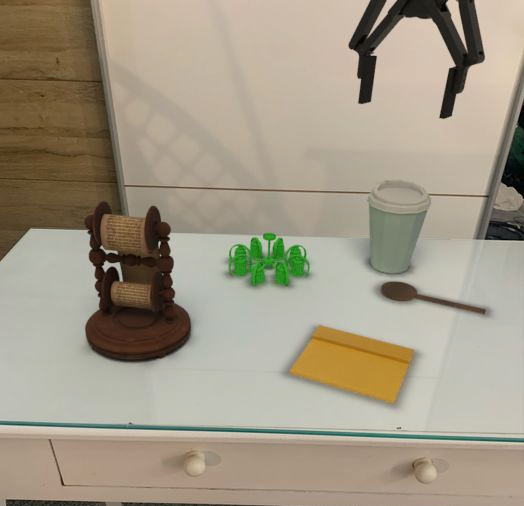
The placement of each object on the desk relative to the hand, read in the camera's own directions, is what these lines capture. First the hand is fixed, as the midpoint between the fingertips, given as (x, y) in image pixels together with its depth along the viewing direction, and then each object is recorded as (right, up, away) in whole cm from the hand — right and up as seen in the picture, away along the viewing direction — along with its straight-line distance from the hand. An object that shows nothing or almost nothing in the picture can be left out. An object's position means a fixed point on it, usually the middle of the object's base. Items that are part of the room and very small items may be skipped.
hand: (403, 109), depth 84 cm
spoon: (+6, -29, +8) cm, 30 cm away
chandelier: (-20, -23, +15) cm, 34 cm away
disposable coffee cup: (+1, -22, +18) cm, 28 cm away
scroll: (-39, -35, -3) cm, 53 cm away
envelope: (-9, -39, -8) cm, 41 cm away
